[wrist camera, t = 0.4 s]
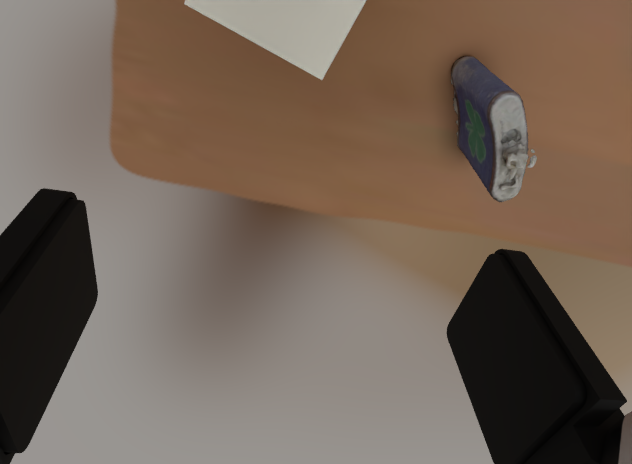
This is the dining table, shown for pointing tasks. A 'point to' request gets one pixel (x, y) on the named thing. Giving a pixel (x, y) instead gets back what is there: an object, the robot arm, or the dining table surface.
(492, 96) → the flask
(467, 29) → the dining table surface
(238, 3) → the cream box
